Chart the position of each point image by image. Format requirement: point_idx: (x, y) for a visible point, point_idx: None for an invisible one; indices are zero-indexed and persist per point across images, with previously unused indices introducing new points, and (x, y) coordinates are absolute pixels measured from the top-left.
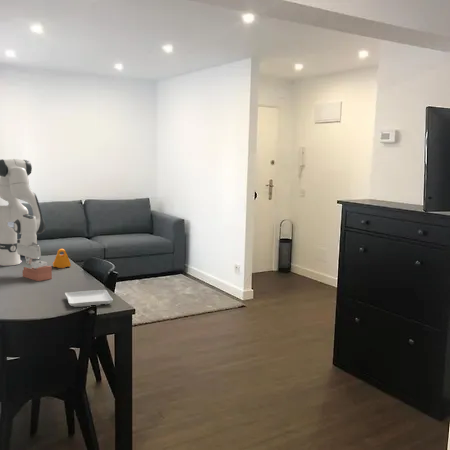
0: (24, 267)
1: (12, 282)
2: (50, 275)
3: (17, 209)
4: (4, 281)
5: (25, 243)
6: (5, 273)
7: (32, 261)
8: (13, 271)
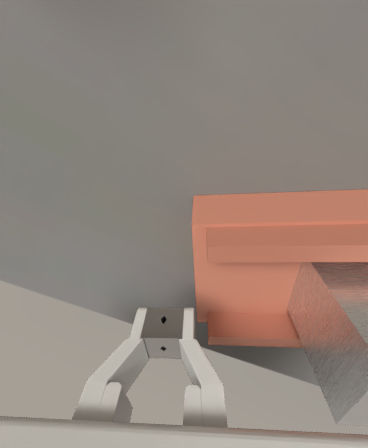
0: (220, 344)
1: (274, 350)
2: None
3: None
4: (230, 356)
5: None
6: (66, 299)
7: (352, 423)
8: (22, 254)
